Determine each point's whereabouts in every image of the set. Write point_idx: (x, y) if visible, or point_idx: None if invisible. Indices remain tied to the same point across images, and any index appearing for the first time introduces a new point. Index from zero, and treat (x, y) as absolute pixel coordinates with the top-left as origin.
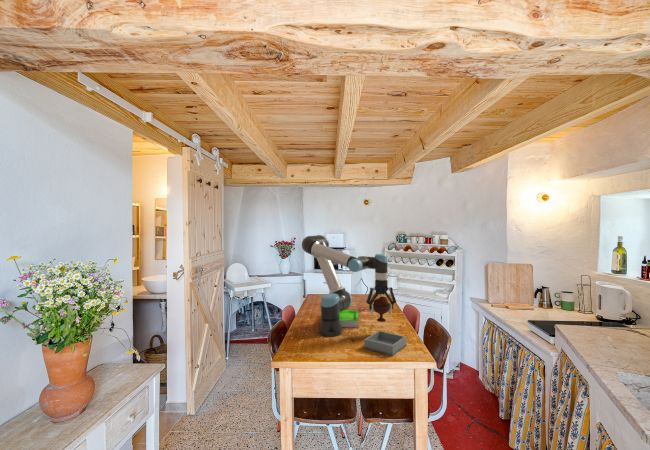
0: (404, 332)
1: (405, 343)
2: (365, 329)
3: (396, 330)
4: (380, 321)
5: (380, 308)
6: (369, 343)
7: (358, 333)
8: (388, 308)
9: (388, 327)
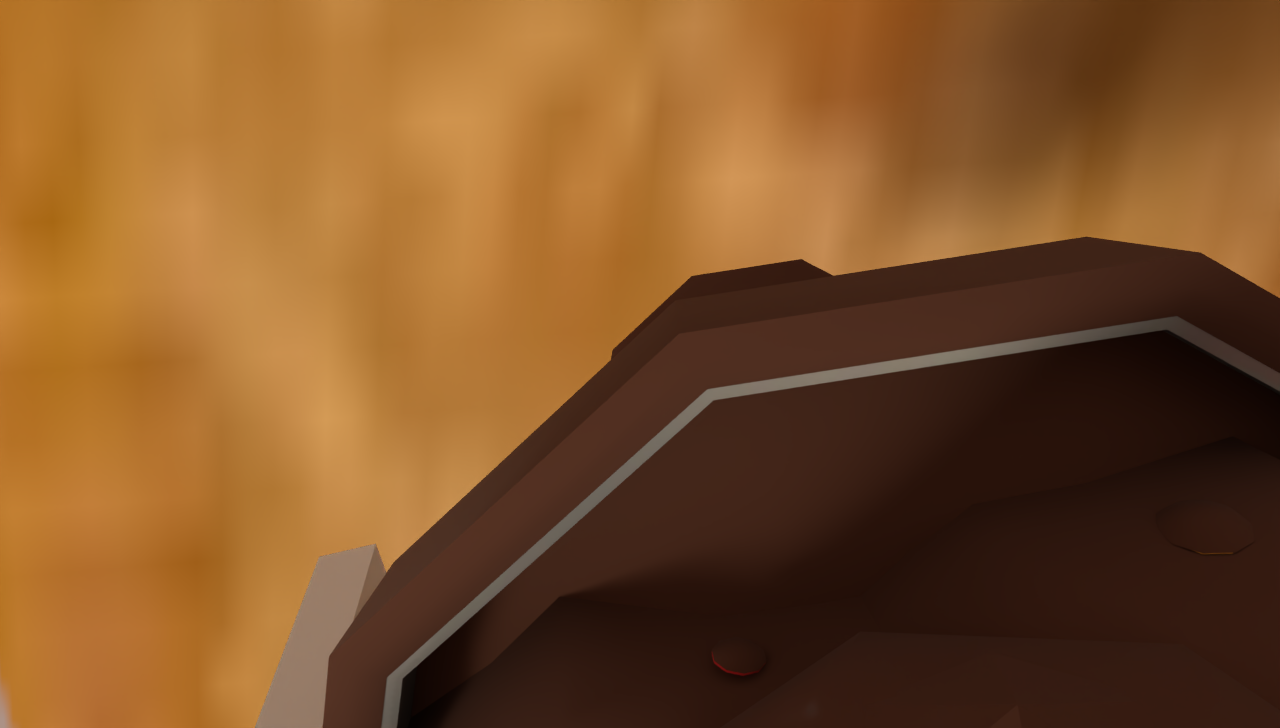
0: (85, 420)
1: None
2: None
3: (295, 538)
4: (813, 273)
5: (1148, 251)
6: None
7: (1257, 266)
8: (458, 515)
9: None
